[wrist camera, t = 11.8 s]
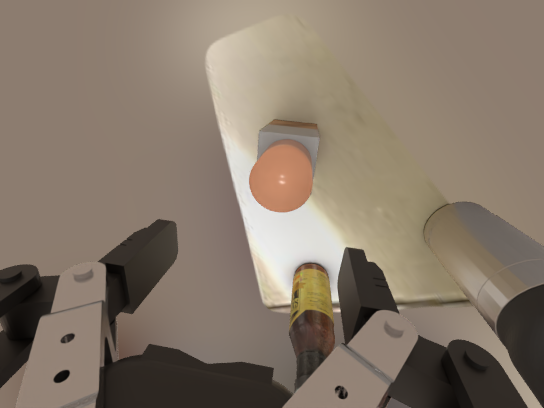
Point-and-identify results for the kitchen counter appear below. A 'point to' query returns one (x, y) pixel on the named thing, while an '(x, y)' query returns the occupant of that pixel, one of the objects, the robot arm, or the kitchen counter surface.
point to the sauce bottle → (311, 320)
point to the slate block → (285, 132)
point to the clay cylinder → (282, 176)
